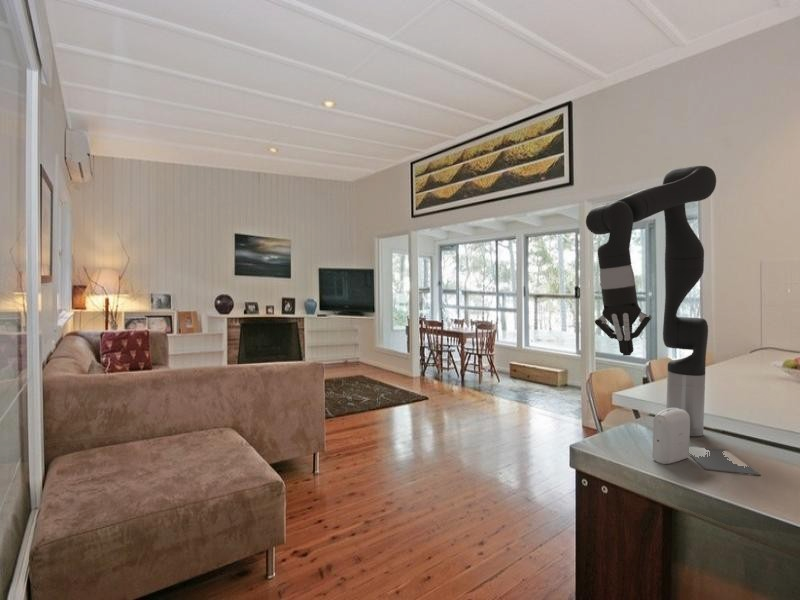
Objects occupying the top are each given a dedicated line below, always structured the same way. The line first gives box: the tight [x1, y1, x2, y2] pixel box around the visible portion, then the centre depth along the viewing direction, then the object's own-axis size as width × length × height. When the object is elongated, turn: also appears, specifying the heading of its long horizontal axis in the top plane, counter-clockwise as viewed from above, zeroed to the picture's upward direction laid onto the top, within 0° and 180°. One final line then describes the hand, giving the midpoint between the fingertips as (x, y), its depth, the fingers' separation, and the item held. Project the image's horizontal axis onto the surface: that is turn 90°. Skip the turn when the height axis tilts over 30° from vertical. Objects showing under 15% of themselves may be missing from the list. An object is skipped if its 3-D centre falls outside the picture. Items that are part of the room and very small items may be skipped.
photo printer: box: [651, 408, 691, 465], centre depth 106 cm, size 10×4×12 cm, turn 119°
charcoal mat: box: [689, 445, 761, 477], centre depth 106 cm, size 16×11×1 cm
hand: (627, 354), depth 108 cm, fingers closed
